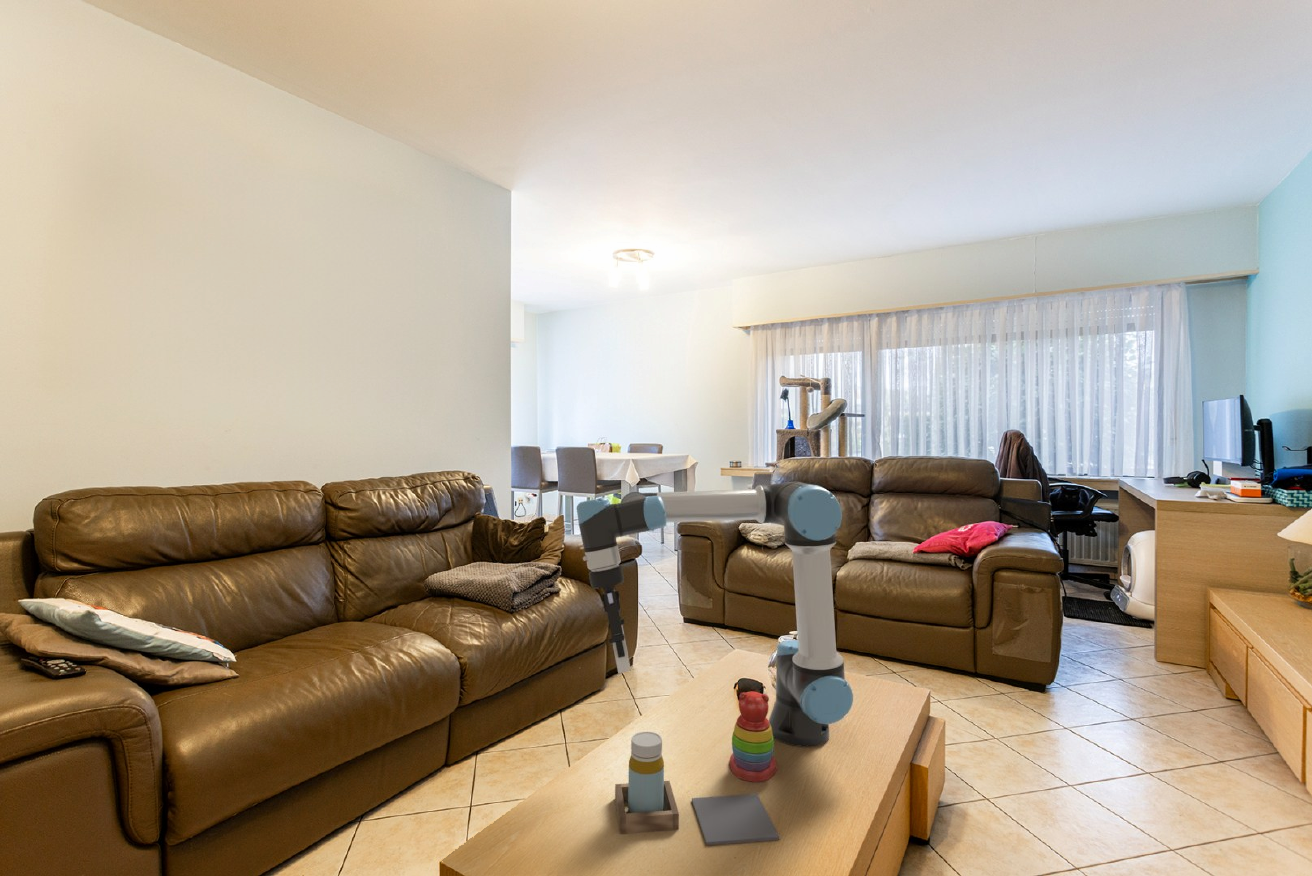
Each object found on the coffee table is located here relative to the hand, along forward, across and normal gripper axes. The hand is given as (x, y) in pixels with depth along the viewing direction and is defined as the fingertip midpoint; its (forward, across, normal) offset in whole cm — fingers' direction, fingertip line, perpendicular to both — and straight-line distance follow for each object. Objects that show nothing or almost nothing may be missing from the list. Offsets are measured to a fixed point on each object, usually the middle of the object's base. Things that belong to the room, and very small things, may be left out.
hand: (623, 663), depth 138 cm
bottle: (+27, +11, -1) cm, 29 cm away
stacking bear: (+31, -3, +24) cm, 39 cm away
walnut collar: (+27, +11, -1) cm, 29 cm away
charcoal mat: (+31, +14, +16) cm, 37 cm away
